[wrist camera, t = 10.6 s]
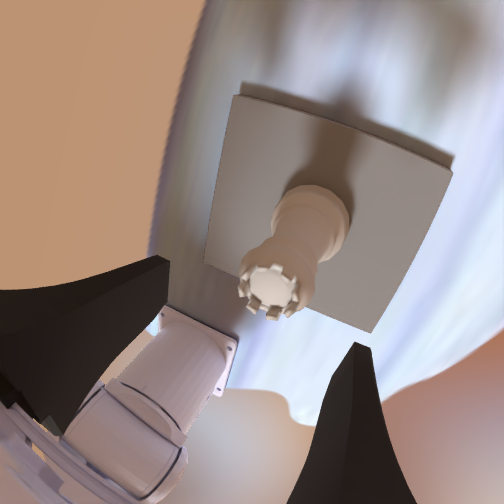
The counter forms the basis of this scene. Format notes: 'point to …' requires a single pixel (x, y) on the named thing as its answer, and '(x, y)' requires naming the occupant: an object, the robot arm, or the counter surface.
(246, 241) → the mat
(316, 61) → the counter surface
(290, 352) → the counter surface
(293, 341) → the counter surface
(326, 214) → the rook chess piece
